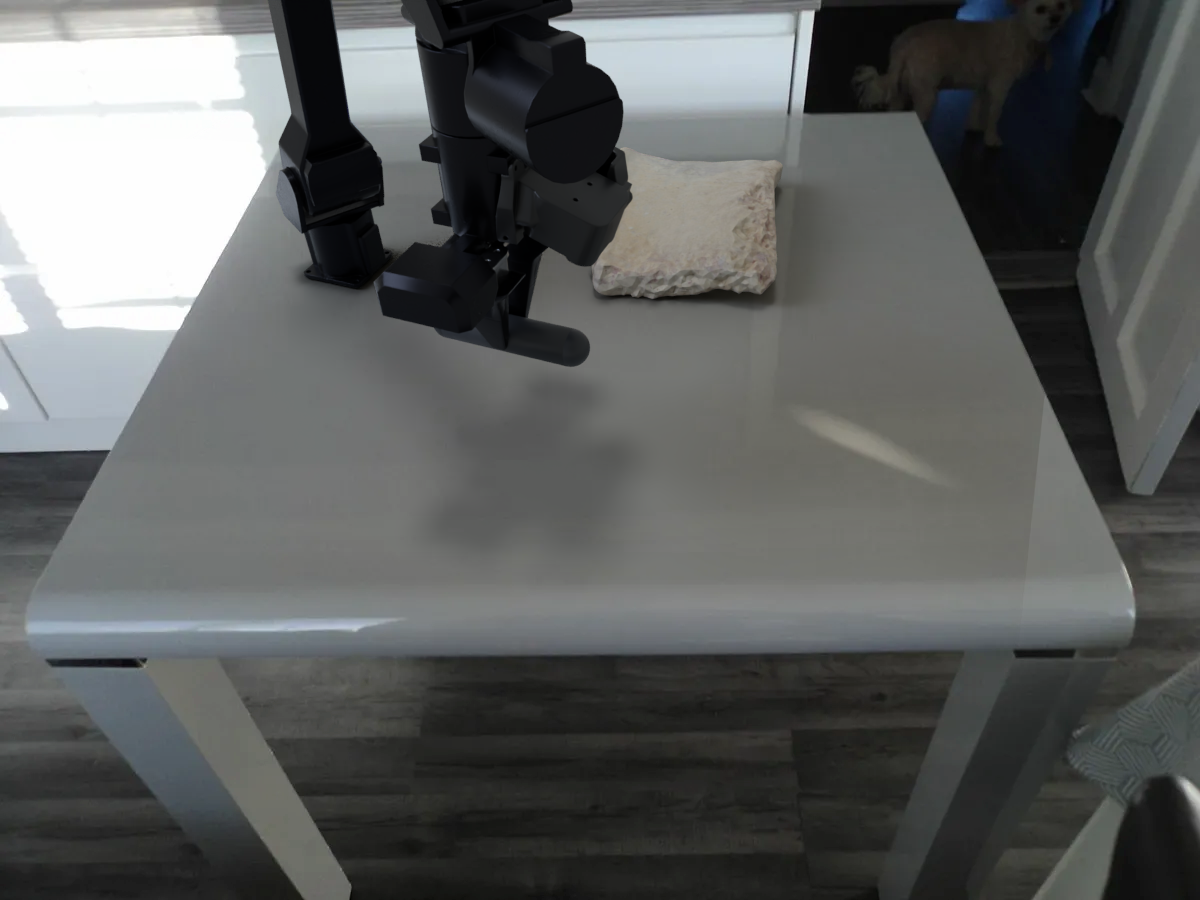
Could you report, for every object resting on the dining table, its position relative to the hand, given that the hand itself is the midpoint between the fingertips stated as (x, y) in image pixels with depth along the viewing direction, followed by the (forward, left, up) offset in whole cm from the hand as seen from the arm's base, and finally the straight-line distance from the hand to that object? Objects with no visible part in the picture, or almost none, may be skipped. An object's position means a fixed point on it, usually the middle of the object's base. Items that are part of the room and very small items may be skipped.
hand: (509, 336), depth 63 cm
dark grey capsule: (0, 0, -1) cm, 1 cm away
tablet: (+1, +33, -11) cm, 35 cm away
